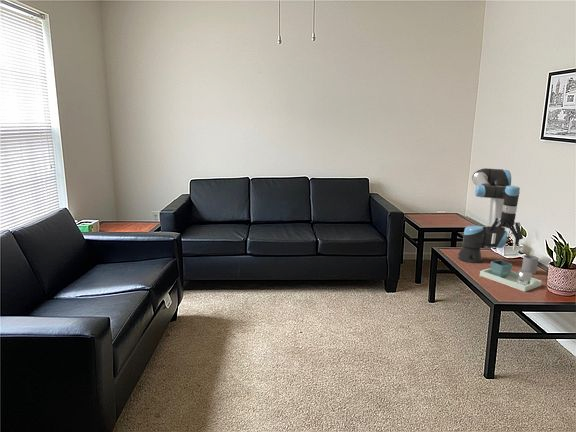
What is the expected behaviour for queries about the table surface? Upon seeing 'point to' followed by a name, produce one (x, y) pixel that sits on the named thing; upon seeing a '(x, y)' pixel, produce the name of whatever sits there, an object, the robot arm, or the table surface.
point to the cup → (530, 263)
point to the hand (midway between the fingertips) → (503, 246)
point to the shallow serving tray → (511, 280)
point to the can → (523, 277)
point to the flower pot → (500, 268)
